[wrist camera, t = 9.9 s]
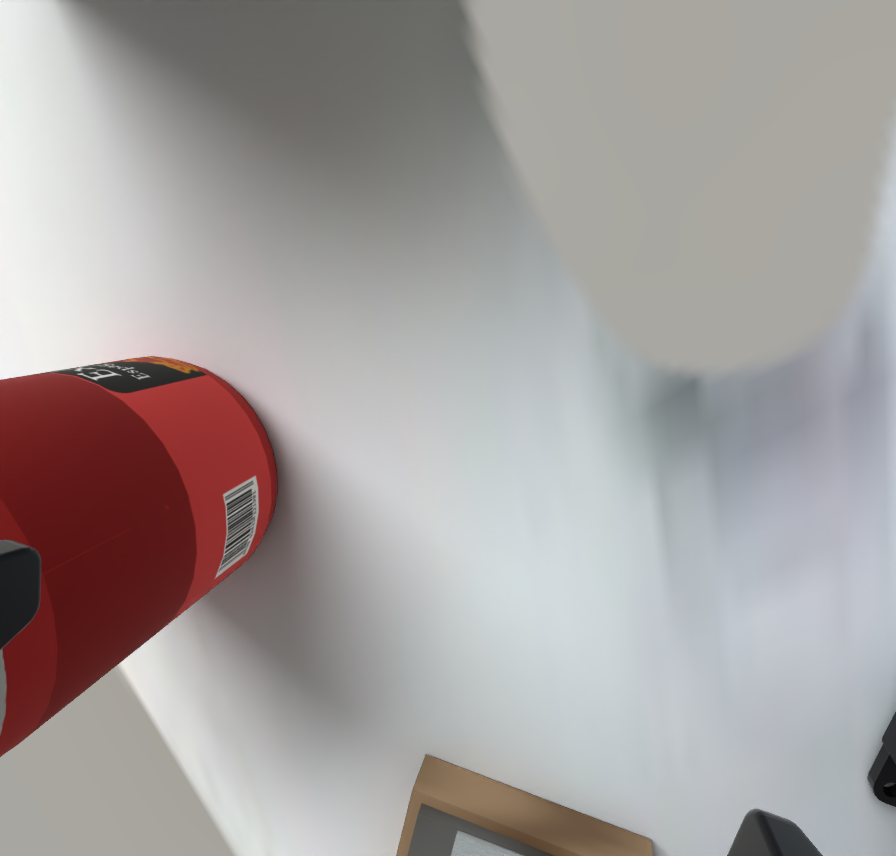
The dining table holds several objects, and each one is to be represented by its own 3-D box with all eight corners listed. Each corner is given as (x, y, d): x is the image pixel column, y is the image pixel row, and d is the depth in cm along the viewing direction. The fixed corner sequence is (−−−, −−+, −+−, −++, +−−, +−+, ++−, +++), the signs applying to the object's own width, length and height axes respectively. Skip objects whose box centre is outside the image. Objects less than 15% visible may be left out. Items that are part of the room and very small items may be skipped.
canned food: (209, 312, 20) (-215, 347, 10) (327, 524, 21) (53, 768, 10) (55, 411, 23) (-414, 525, 12) (167, 598, 23) (-186, 856, 13)
